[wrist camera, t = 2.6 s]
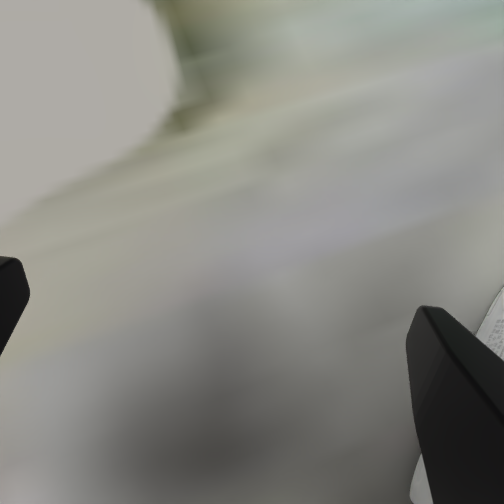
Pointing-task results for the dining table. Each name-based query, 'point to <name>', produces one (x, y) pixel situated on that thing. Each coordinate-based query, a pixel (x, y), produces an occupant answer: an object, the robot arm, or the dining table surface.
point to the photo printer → (500, 342)
